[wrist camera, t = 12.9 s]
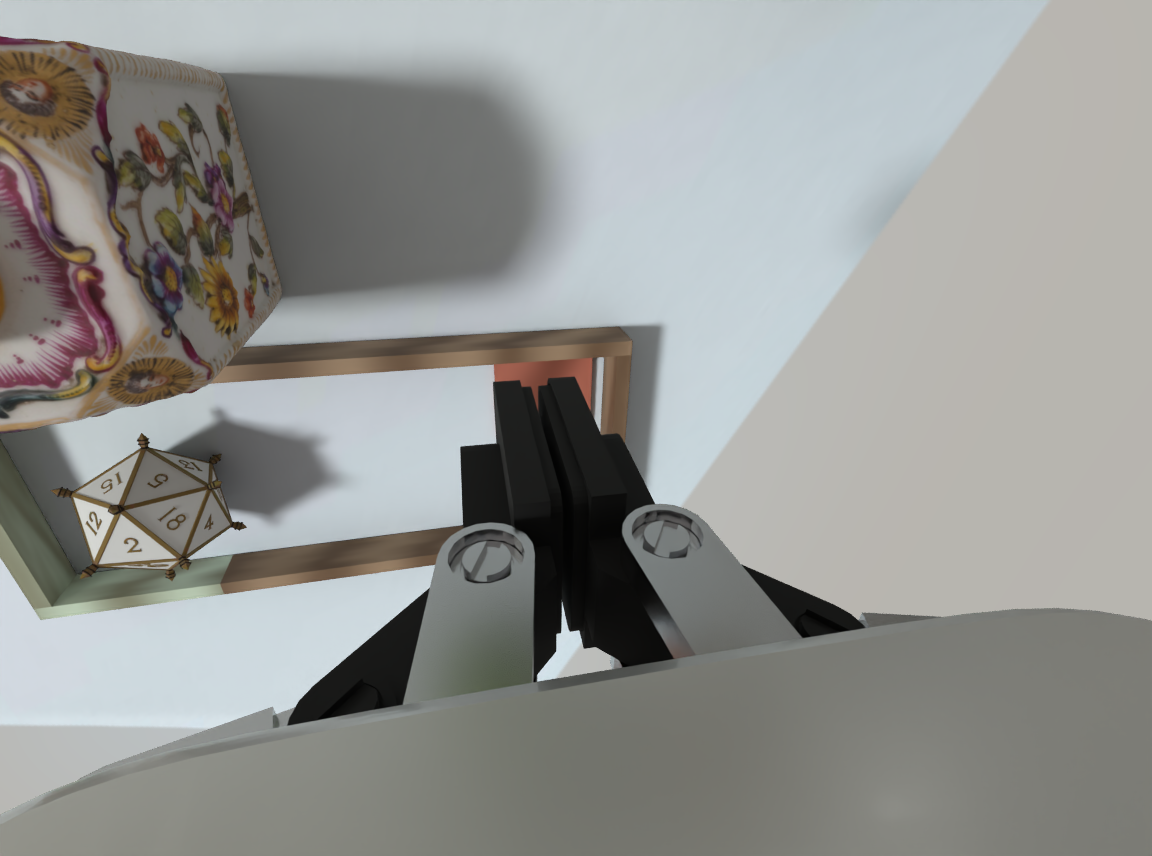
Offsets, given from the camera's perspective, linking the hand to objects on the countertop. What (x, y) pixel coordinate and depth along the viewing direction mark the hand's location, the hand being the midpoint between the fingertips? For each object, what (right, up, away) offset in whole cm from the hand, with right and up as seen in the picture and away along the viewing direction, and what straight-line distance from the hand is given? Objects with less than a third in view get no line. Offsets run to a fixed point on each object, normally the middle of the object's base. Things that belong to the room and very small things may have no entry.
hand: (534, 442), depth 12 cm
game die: (-26, -3, +26) cm, 36 cm away
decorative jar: (-22, +13, +18) cm, 31 cm away
